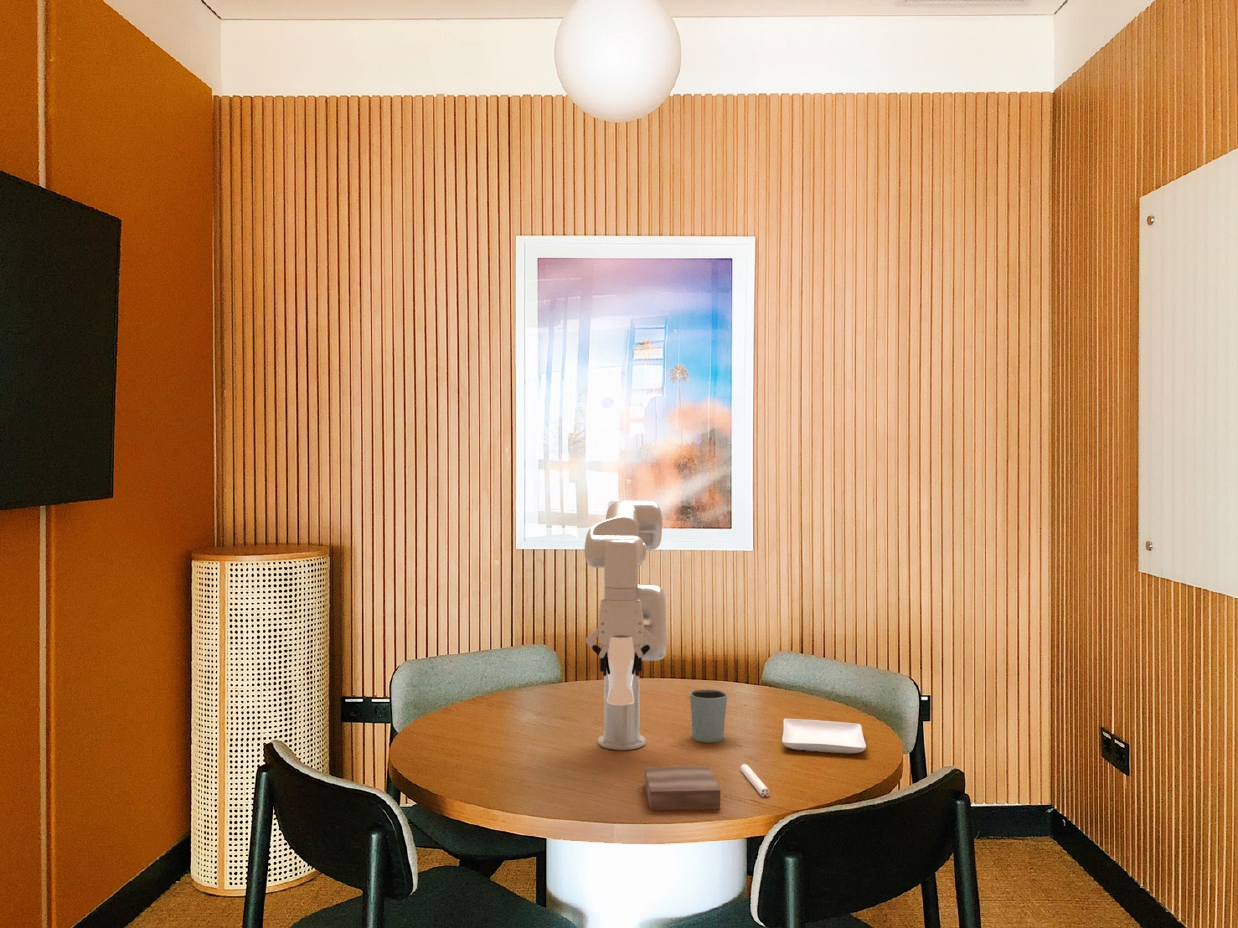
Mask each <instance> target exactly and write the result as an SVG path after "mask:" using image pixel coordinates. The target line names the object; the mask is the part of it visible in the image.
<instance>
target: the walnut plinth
mask: <svg viewBox="0 0 1238 928" xmlns="http://www.w3.org/2000/svg"><path fill="white" fill-rule="evenodd" d="M644 787H646V788H645V792H646V797H647V796H648V797H647V800H649V801H648V805H649V808H650V811H675V810H676V811H678V810H679V811H685V810H720V809H721V789H720V787H719V785H718V783H717V780H716V778H715V776H714V774H713V772H712V770H711V768H710V766H709V765H708V766H707V765H706V766H701V765H700V766H654V767H653V766H652V767H651V766H649V767H648V766H646V767H644Z"/></svg>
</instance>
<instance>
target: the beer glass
mask: <svg viewBox="0 0 1238 928" xmlns="http://www.w3.org/2000/svg"><path fill="white" fill-rule="evenodd" d="M605 655H606V659H607V673H608V680H609V692H608V698H607V702H608V703H609V704H611V705H617V706H625V705H630V704H633V703H634V695H633V678H634V672H635V664H636V655H637V653H636V648H635V646H634V644H633V638H632V637H610V642H609V645H608V646H607V651H606V654H605Z"/></svg>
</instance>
